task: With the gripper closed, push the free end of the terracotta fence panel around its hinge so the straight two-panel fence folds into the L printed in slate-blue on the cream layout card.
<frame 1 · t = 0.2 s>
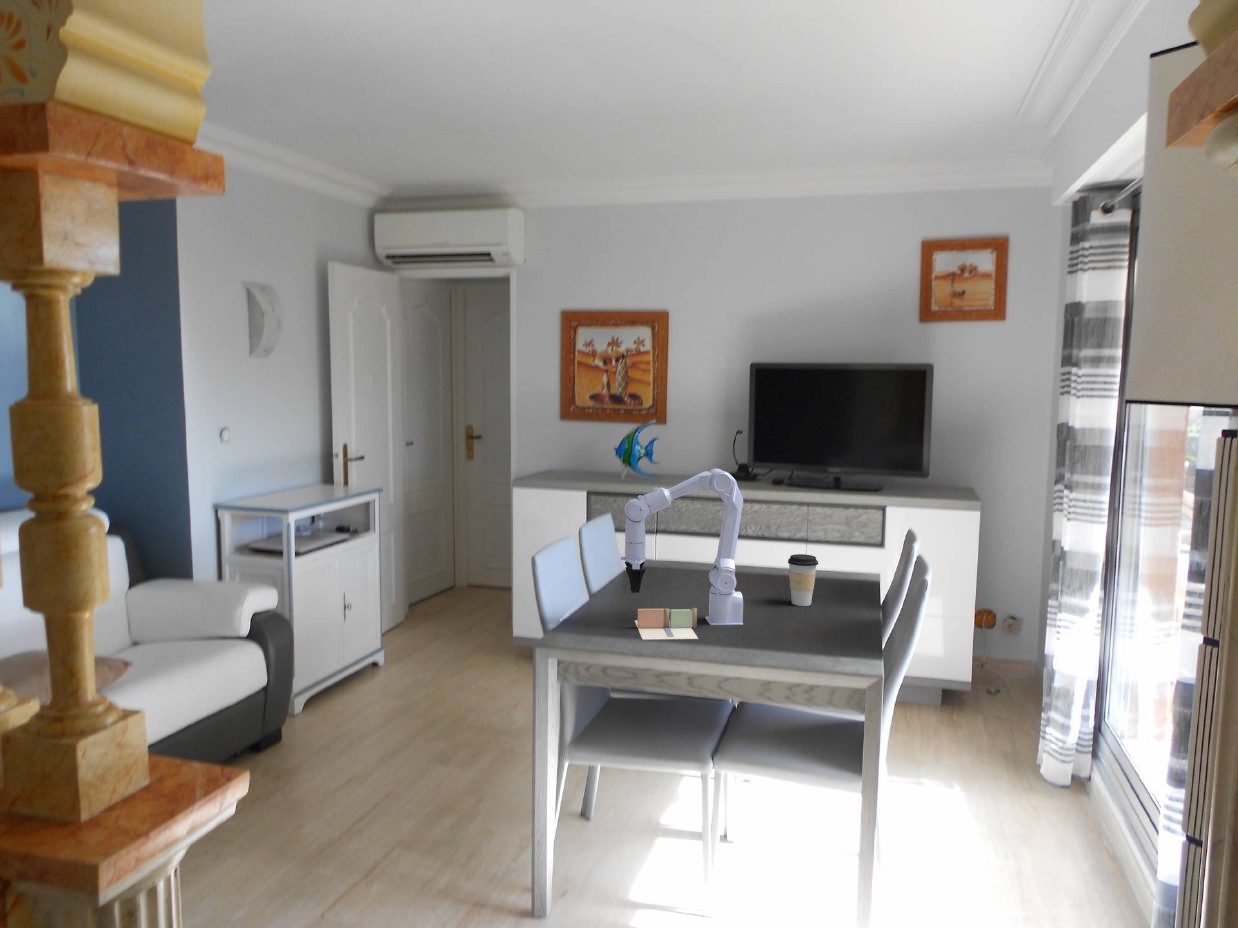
hand: (634, 589, 250), 10 cm above the table, fingers open, 7 cm apart
fence fixed: (666, 627, 246), resting on layout card
layout card: (665, 630, 244), on the table
coffee cup: (801, 604, 276), on the table
fence panel: (653, 617, 245), point 3 cm above the table, hinge at 0.0°
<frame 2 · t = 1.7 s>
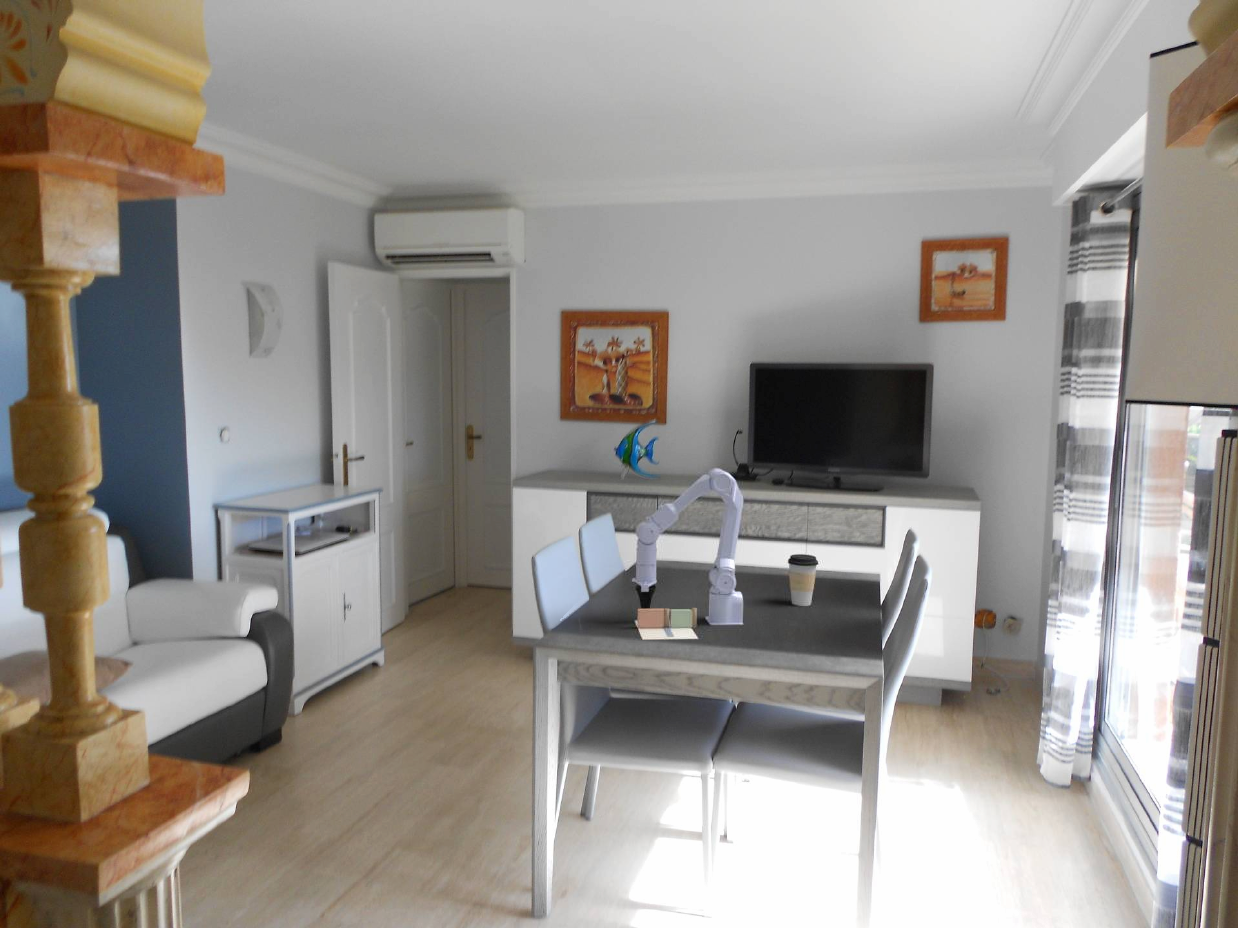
hand: (645, 610, 251), 3 cm above the table, fingers closed
nothing on the table moved.
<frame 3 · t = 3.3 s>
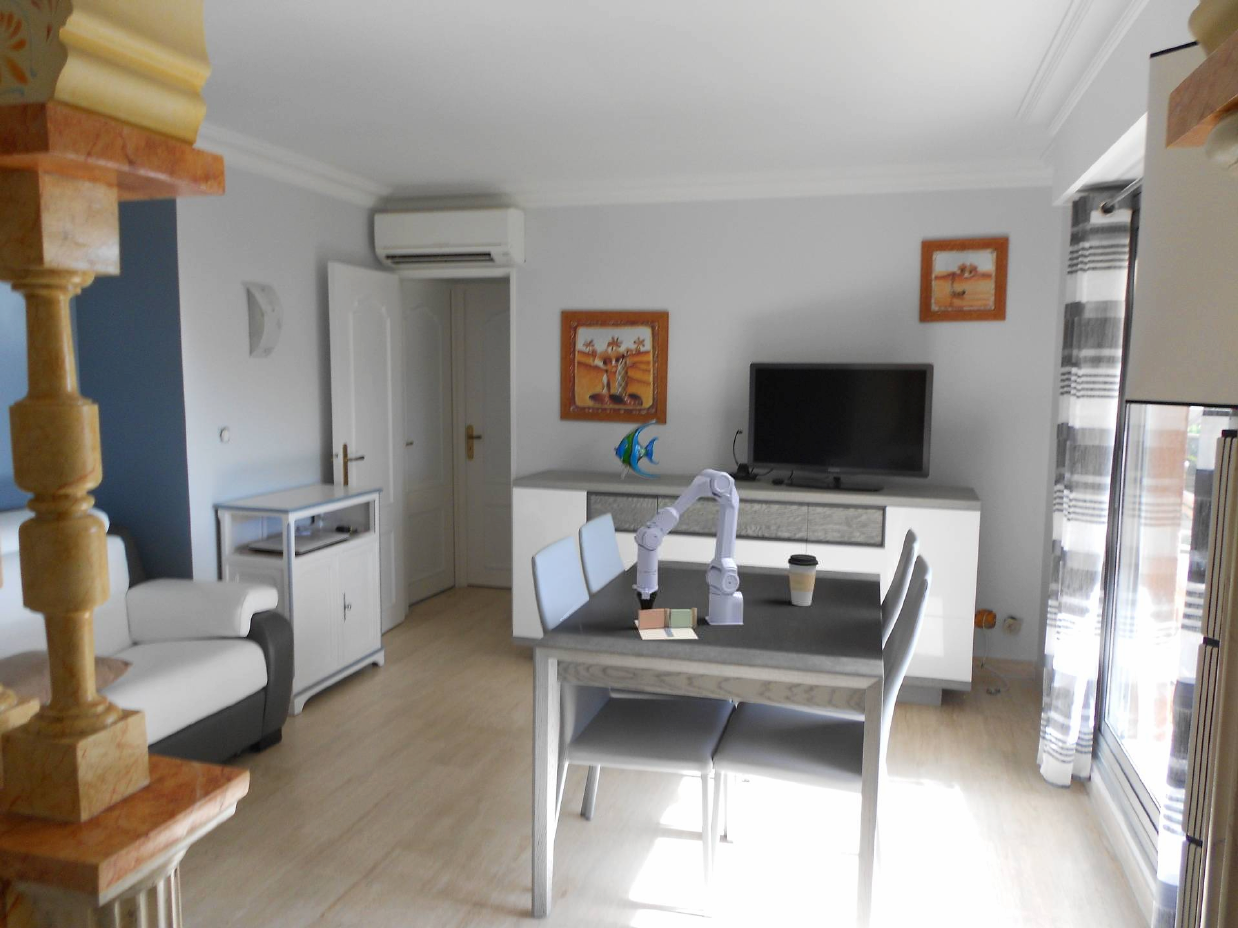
hand: (646, 618, 245), 3 cm above the table, fingers closed, pressing on fence panel
fence panel: (654, 618, 244), point 3 cm above the table, hinge at 10.1°, touching gripper
everything else where it was.
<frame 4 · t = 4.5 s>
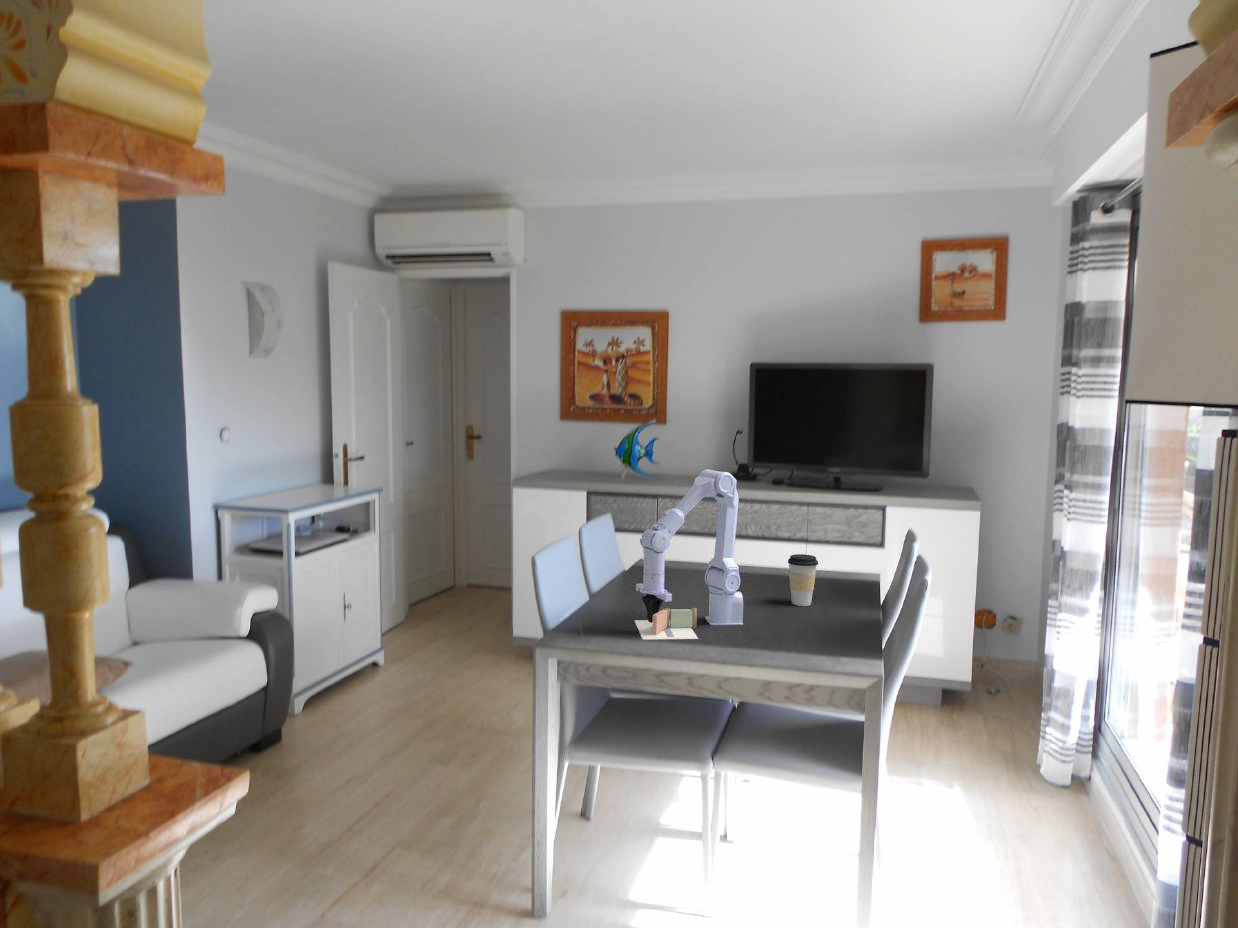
hand: (652, 621, 242), 3 cm above the table, fingers closed, pressing on fence panel
fence panel: (661, 620, 242), point 3 cm above the table, hinge at 57.6°, touching gripper
everything else where it was.
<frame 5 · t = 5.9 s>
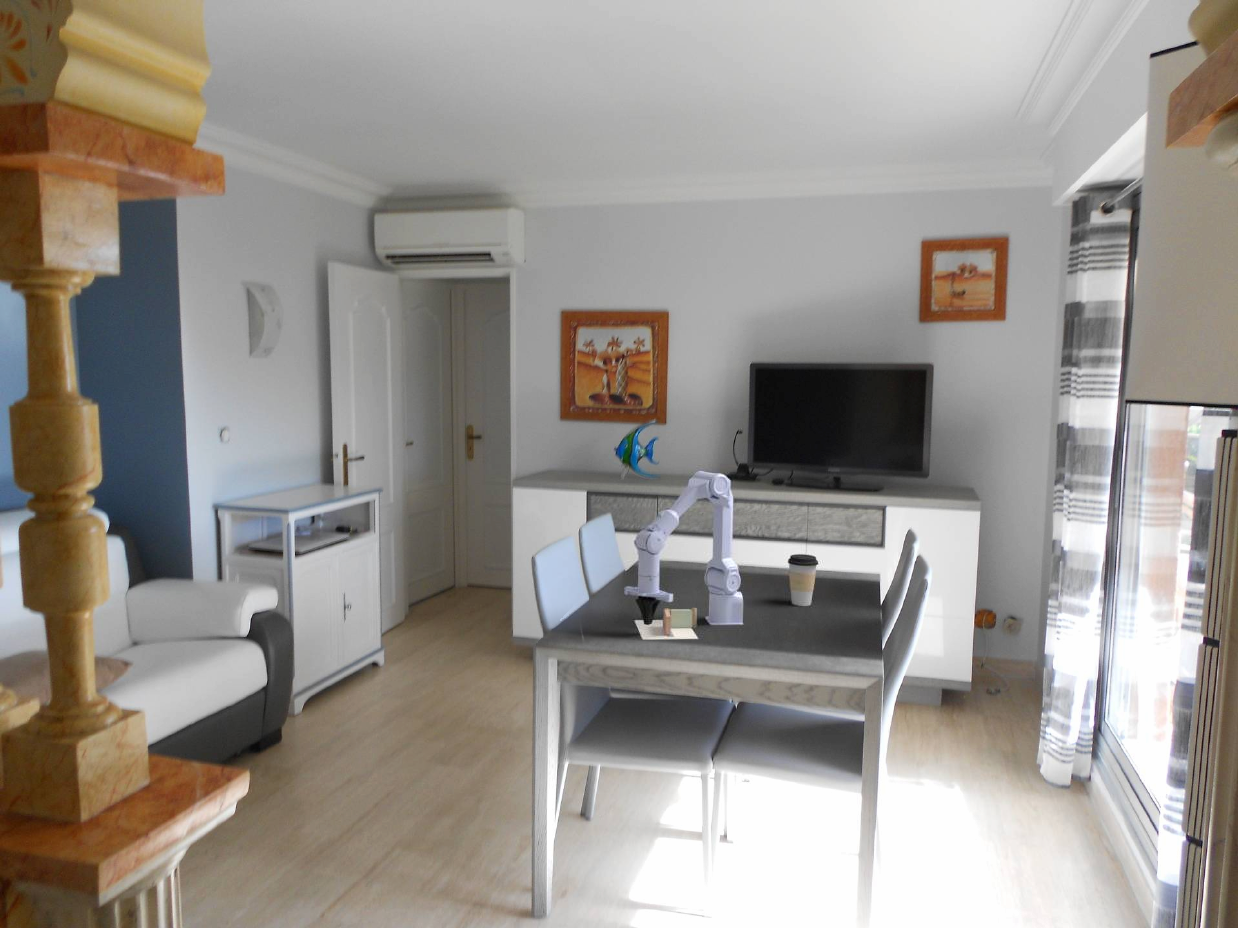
hand: (647, 623, 239), 3 cm above the table, fingers closed
fence panel: (667, 621, 242), point 3 cm above the table, hinge at 85.3°
everything else where it was.
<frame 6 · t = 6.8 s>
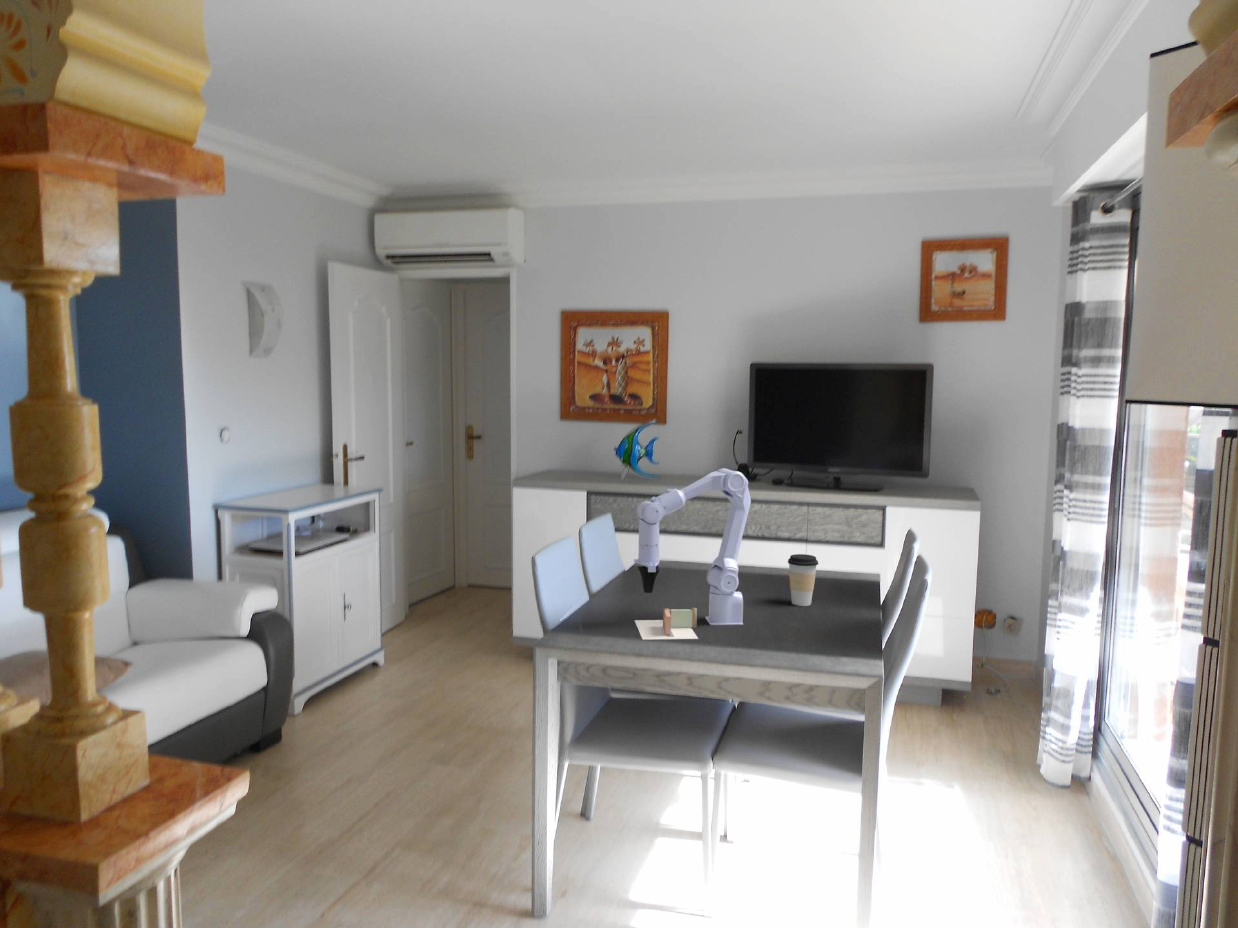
hand: (648, 592, 246), 10 cm above the table, fingers closed
nothing on the table moved.
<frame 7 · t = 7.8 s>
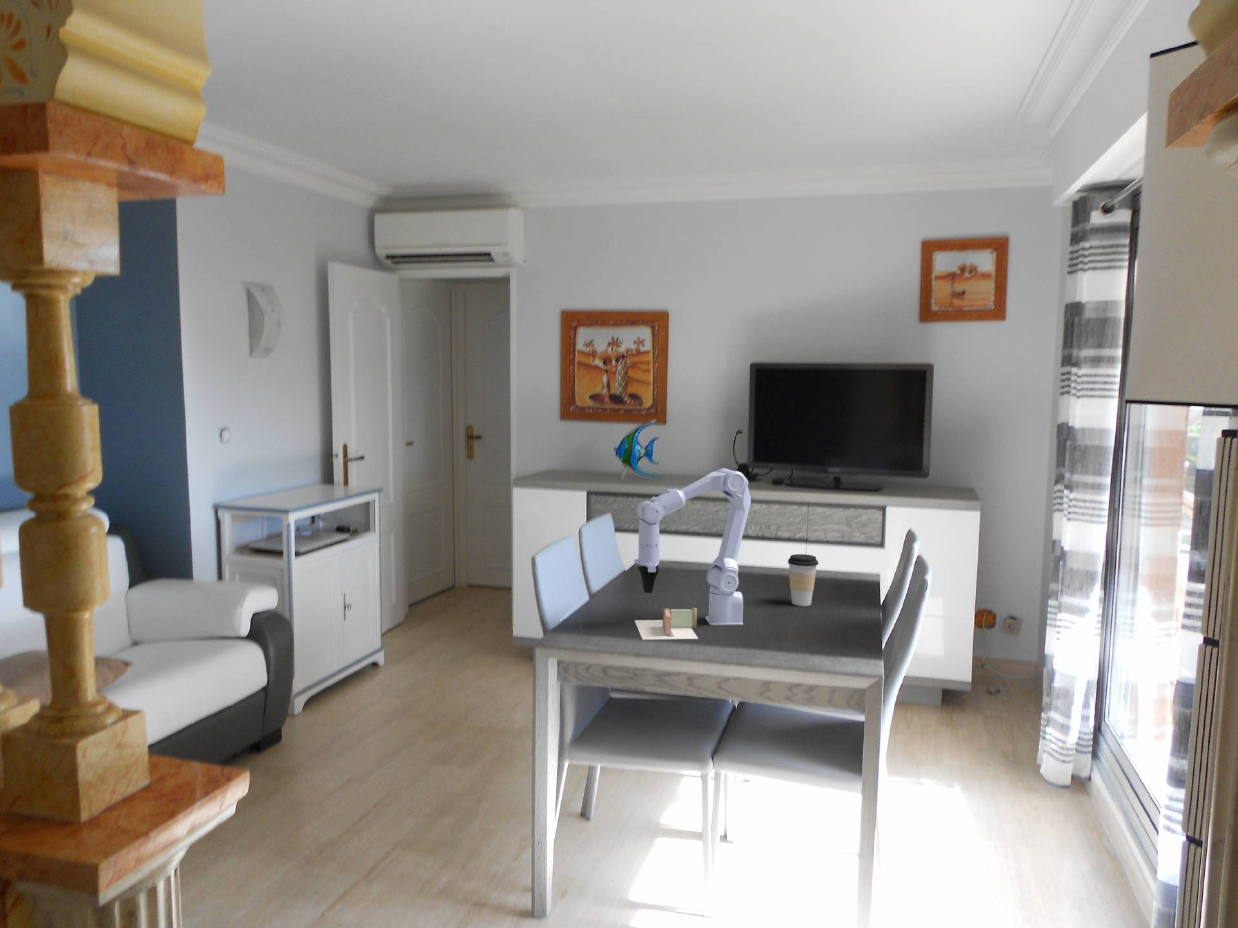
hand: (648, 592, 246), 10 cm above the table, fingers closed
nothing on the table moved.
at the end: fence panel at +85° (first picture: +0°); fence panel touching nothing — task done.
